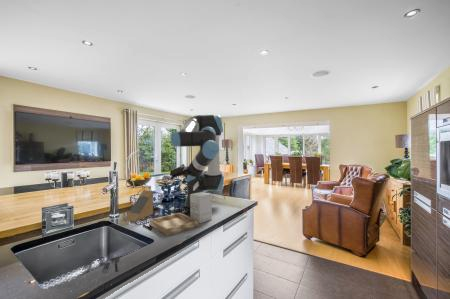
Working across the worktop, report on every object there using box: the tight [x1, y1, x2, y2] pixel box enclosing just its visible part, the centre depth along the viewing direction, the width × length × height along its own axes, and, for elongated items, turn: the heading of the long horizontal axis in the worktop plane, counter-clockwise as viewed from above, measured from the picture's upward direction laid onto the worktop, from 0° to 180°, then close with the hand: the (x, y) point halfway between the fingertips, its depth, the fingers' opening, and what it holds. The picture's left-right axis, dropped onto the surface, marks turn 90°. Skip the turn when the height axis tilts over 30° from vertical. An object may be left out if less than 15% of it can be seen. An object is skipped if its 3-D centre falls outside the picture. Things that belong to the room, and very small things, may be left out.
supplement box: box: [189, 191, 213, 224], centre depth 120 cm, size 9×9×15 cm
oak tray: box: [149, 212, 200, 237], centre depth 111 cm, size 18×20×3 cm
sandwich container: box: [123, 189, 154, 222], centre depth 127 cm, size 9×15×15 cm, turn 155°
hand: (182, 185), depth 118 cm, fingers open, 13 cm apart
